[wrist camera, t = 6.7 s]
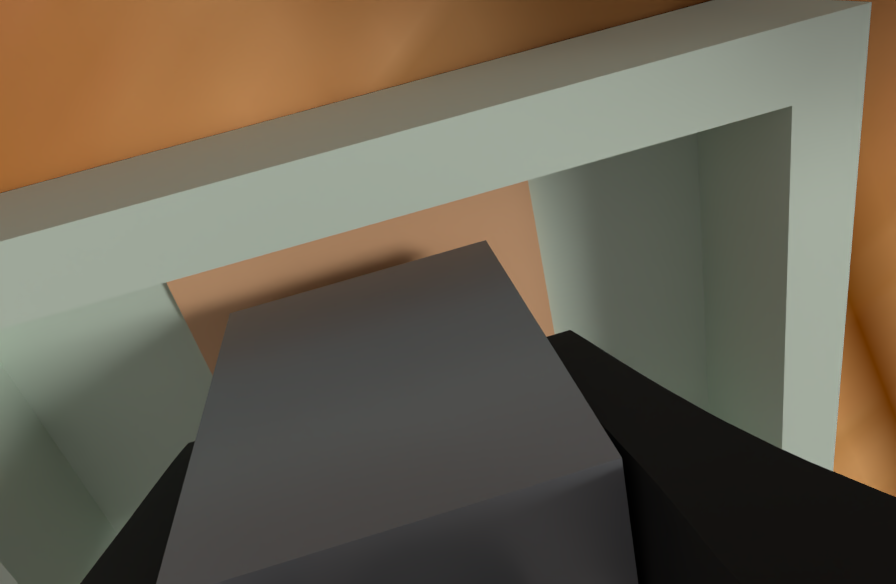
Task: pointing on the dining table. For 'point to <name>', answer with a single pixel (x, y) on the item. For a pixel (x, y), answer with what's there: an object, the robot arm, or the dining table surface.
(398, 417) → the grey block with knob
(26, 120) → the dining table surface
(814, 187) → the grey-green rectangular frame
